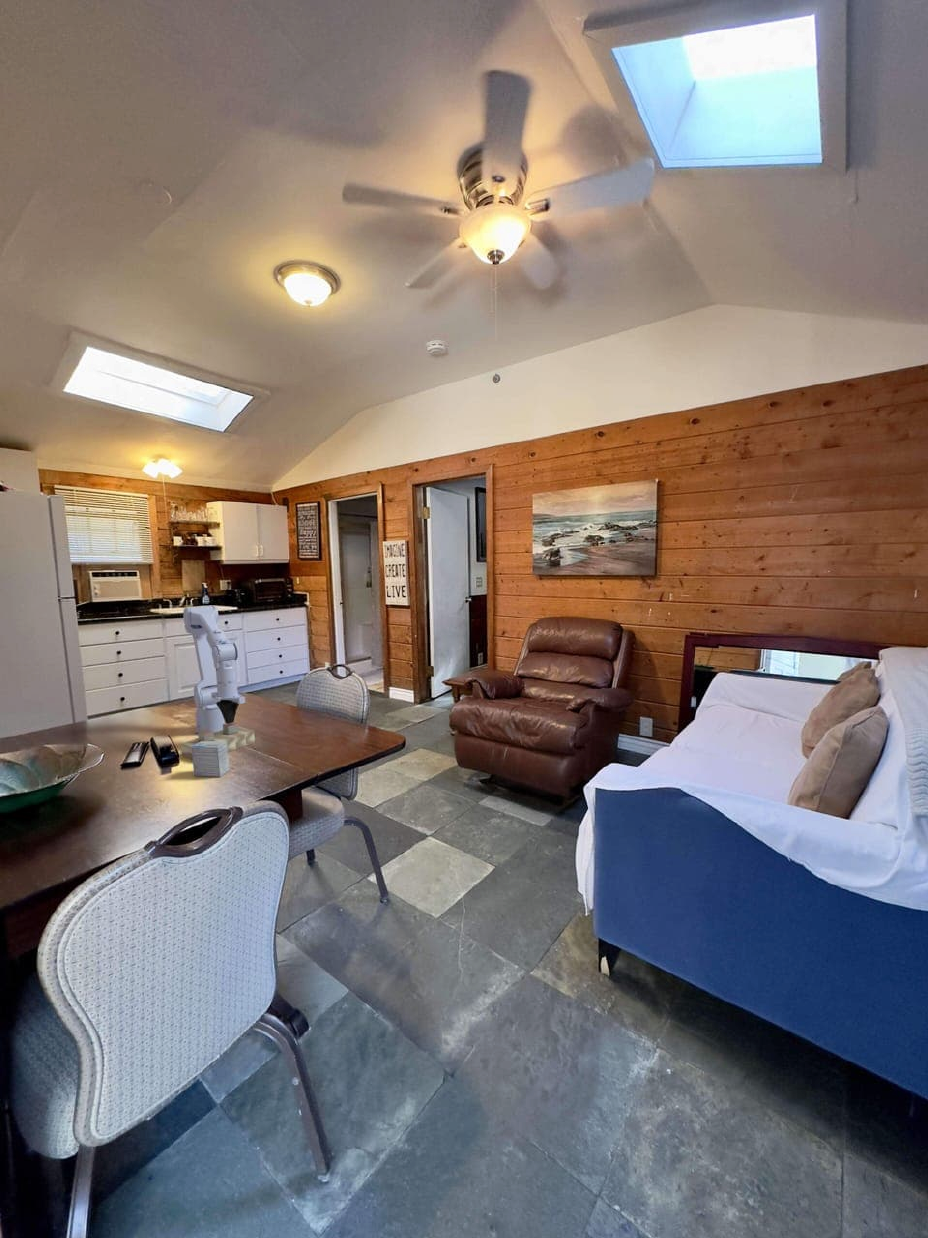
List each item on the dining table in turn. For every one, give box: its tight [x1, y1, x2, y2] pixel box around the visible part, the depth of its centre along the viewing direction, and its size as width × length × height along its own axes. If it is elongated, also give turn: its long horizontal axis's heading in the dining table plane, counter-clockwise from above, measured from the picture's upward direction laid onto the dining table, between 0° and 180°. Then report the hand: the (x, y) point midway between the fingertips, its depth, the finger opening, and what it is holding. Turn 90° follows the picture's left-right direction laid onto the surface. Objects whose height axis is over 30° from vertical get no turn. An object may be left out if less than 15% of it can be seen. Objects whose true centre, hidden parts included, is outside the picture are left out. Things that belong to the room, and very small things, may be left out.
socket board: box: [180, 725, 256, 761], centre depth 150 cm, size 18×10×4 cm, turn 150°
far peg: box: [223, 721, 238, 735], centre depth 154 cm, size 3×3×4 cm
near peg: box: [197, 729, 214, 742], centre depth 147 cm, size 3×3×4 cm
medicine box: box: [192, 741, 230, 778], centre depth 132 cm, size 8×4×9 cm, turn 84°
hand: (229, 722), depth 153 cm, fingers closed
